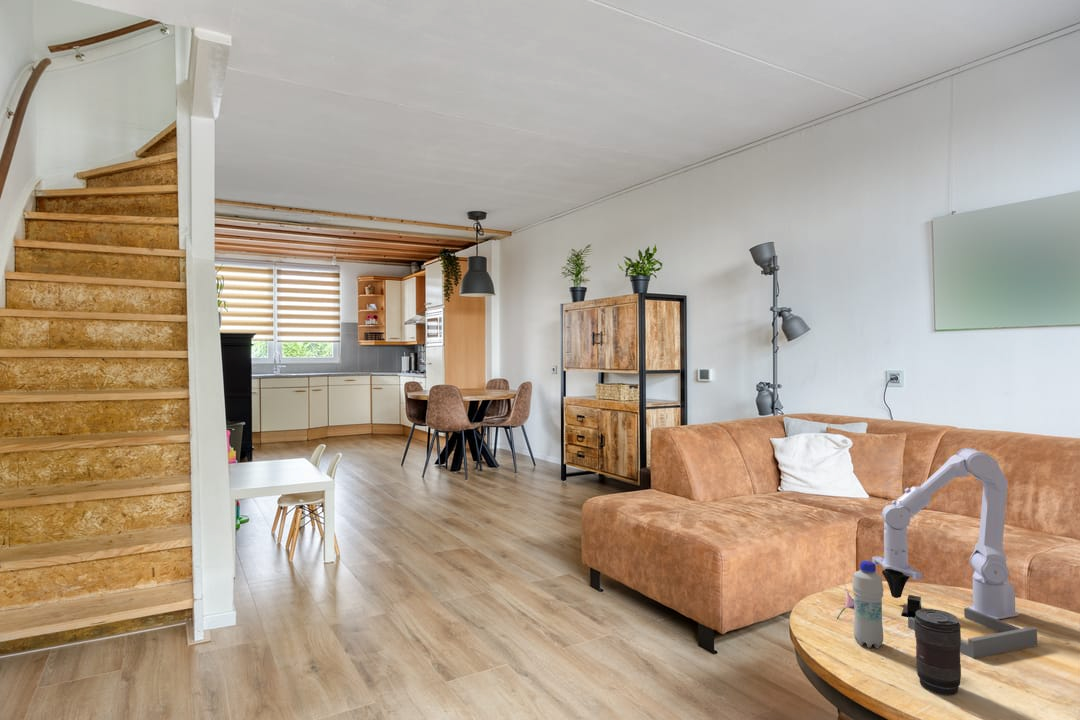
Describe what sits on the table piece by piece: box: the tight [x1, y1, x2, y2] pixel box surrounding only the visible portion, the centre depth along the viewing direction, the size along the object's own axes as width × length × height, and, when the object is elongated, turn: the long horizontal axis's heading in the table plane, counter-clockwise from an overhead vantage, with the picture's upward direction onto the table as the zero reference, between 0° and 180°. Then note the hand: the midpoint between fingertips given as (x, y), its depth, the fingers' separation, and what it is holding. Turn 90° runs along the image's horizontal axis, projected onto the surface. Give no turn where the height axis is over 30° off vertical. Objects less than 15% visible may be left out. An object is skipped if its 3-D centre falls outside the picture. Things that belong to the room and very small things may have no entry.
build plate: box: [900, 594, 926, 619], centre depth 165 cm, size 12×7×5 cm, turn 143°
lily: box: [836, 578, 854, 620], centre depth 161 cm, size 12×12×10 cm
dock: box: [907, 607, 1038, 659], centre depth 150 cm, size 20×17×4 cm
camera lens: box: [914, 608, 962, 696], centre depth 127 cm, size 8×8×15 cm
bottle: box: [851, 560, 885, 649], centre depth 147 cm, size 7×7×20 cm
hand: (896, 596), depth 171 cm, fingers closed
